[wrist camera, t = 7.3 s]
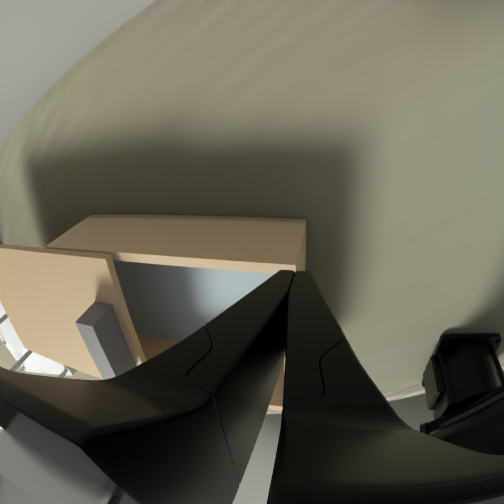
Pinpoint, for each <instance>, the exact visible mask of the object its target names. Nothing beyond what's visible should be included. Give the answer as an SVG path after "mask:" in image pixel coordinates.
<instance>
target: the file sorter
mask: <svg viewBox="0 0 504 504" xmlns="http://www.w3.org/2000/svg"><path fill="white" fill-rule="evenodd" d="M0 338H1V340H2V341H3V343H2V344H1V345H0V349H1V348H2V347H3V346H4V345H6V347H7V348H8V349H9V351H10V352H11V353H12V355H13V356H14V357H15V359H16V360H17V362H16V363H15V365H14V366H13V367H12V368H11V369H10V371H15V370H16V369H17V368H18V367H19V366H20V365H21V366H22V368H21V369H20V370H19V371H18V372H19V373H22V372H23V371H24V370H25V371H27V372H36V373H46V374H57V375H59V376H58V378H63V377H64V376H65V375H74V373H75V372H76V371H77V370H76V369H73V368H71V367H68V366H65V365H63V364H60V363H58V362H55V361H53V360H51V359H48V358H46V357H43V356H41V355H39V354H37V353H34V352H32V351H30V350H28V349H25V347H24V346H23V344H22V342H21V340H20V339H19V337H18V335H17V333H16V331H15V329H14V328H13V326H12V324H11V322H10V320H9V318H8V316H7V314H6V312H5V310H4V308H3V306H2V304H1V302H0ZM0 428H1V429H3V428H2V427H1V426H0Z"/></svg>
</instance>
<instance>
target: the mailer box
mask: <svg viewBox="0 0 504 504" xmlns="http://www.w3.org/2000/svg"><path fill="white" fill-rule="evenodd" d="M46 249H56V250H67V251H79V252H90V253H102V254H111V256H112V259H113V263H114V266H115V270H116V273H117V276H118V280H119V283H120V286H121V289H122V293H123V296H124V299H125V302H126V305H127V308H128V311H129V314H130V317H131V320H132V323H133V326H134V328H135V331H136V334H137V337H138V339H139V342H140V345H141V347H142V350H143V353H144V355H145V358H146V360H149V359H150V358H152V357H154V356H156V355H158V354H160V353H161V352H163V351H165V350H166V349H168V348H170V347H172V346H173V345H175V344H177V343H178V342H180V341H181V340H183V339H184V338H186V337H188V336H189V335H191V334H192V333H194V332H195V331H196V330H198V329H199V328H201V327H202V326H205V324H206V323H208V322H209V321H211V320H212V319H213V318H215V317H216V316H218V315H219V314H220V313H222V312H223V311H225V310H226V309H227V308H229V307H230V306H231V305H233V304H234V303H236V302H237V301H238V300H240V299H241V298H243V297H244V296H245V295H247V294H248V293H249V292H251V291H252V290H253V289H255V288H256V287H258V286H259V285H260V284H262V283H263V282H264V281H266V280H267V279H268V278H270V277H271V276H273V275H274V274H275V273H277V272H278V271H279V270H293V271H295V272H296V271H306V219H295V218H271V217H243V216H208V215H146V214H92V215H90V216H89V217H87V218H86V219H84V220H83V221H81V222H80V223H78V224H77V225H75V226H74V227H72V228H71V229H69V230H68V231H66V232H65V233H64V234H62V235H61V236H59V237H58V238H57V239H55V240H54V241H52V242H51V243H50V244H48V245H47V246H46ZM284 371H285V358H284V361H283V365H282V368H281V371H280V374H279V377H278V380H277V383H276V386H275V389H274V392H273V395H272V398H271V401H270V404H269V407H268V409H271V410H279V411H282V408H283V389H284Z"/></svg>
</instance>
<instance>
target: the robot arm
mask: <svg viewBox="0 0 504 504" xmlns="http://www.w3.org/2000/svg"><path fill="white" fill-rule="evenodd" d="M444 340H446V341H444ZM501 341H502V338H501V336H500V334H446V335H442V336H441V337H440V339H439V341H438V344H437V346H436V349H435V351H434V354H433V355H432V356H431V357H430V359H429V362H428V364H427V367H426V369H425V371H424V374H423V380H422V386H423V387H425V392H426V398H427V406H428V409H429V410H433V412H434V420H433V421H430V422H428V423H427V422H426V423H424V424H421V425H420V432H419V431H417V430H414V429H413V428H411V427H410V426H408V425H407V424H406V423H405V422H404V421H403V420H401V418H400V417H399V416H398V415H397V413H396V412H395V411H394V409H393V408H392V407H391V406H390V404H389V403H388V401H387V400H386V398H385V397H384V396H383V394H382V393H381V392H380V390H379V389H378V388H377V386H376V385H375V383H374V382H373V381H372V379H371V378H370V377H369V375H368V374H367V372H366V371H365V369H364V368H363V366H362V365H361V364H360V362H359V360H358V358H357V357H356V355H355V353H354V351H353V350H352V348H351V346H350V344H349V342H348V340H346V337H345V335H344V333H343V331H342V329H341V327H340V325H339V323H338V321H337V320H336V318H335V316H334V314H333V312H332V310H331V308H330V307H329V305H328V303H327V301H326V299H325V297H324V295H323V294H322V292H321V290H320V288H319V286H318V284H317V283H316V281H315V279H314V277H313V275H312V273H311V272H310V271H296V272H295V271H293V270H279V271H278V272H277V273H275V274H274V275H273V276H271V277H270V278H268V279H267V280H266V281H264V282H263V283H262V284H260V285H259V286H258V287H256V288H255V289H253V290H252V291H251V292H249V293H248V294H247V295H245V296H244V297H243V298H241V299H240V300H238V301H237V302H236V303H234V304H233V305H231V306H230V307H229V308H227V309H226V310H225V311H223V312H222V313H220V314H219V315H218V316H216V317H215V318H213V319H212V320H211V321H209V322H208V323H206V324H205V326H202V327H201V328H199V329H198V330H196V331H195V332H194V333H192V334H191V335H189V336H188V337H186V338H184V339H183V340H181V341H180V342H178V343H177V344H175V345H173V346H172V347H170V348H168V349H166V350H165V351H163V352H161V353H160V354H158V355H156V356H154V357H152V358H150V359H149V360H147V361H145V362H143V363H141V364H139V365H138V366H136V367H134V368H132V369H130V370H128V371H126V372H124V373H122V374H120V375H118V376H116V377H113V378H110V379H105V380H80V379H68V378H58V377H48V376H40V375H32V374H25V373H19V372H15V371H10V370H7V369H4V368H2V367H0V426H1V427H2V428H3V430H2V431H1V433H0V504H232V503H233V500H234V498H235V495H236V493H237V490H238V488H239V484H240V483H241V480H242V478H243V475H244V472H245V470H246V467H247V465H248V462H249V459H250V457H251V454H252V451H253V448H254V446H255V443H256V440H257V437H258V435H259V432H260V429H261V427H262V424H263V421H264V418H265V415H266V412H267V409H268V407H269V404H270V401H271V398H272V395H273V392H274V389H275V386H276V383H277V380H278V377H279V374H280V371H281V368H282V365H283V361H284V358H285V371H284V389H283V408H282V420H281V429H280V435H279V441H278V447H277V452H276V458H275V463H274V469H273V474H272V479H271V484H270V489H269V495H268V500H267V504H504V374H503V371H502V368H501V365H500V362H499V360H498V357H497V355H496V351H497V349H498V347H499V345H500V343H501Z"/></svg>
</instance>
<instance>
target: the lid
mask: <svg viewBox="0 0 504 504" xmlns="http://www.w3.org/2000/svg"><path fill="white" fill-rule="evenodd" d="M0 302H1V304H2V306H3V308H4V310H5V312H6V314H7V316H8V318H9V320H10V322H11V324H12V326H13V328H14V329H15V331H16V333H17V335H18V337H19V339H20V340H21V342H22V344H23V346H24V347H25V349H28V350H30V351H32V352H34V353H37V354H39V355H41V356H43V357H46V358H48V359H51V360H53V361H55V362H58V363H60V364H63V365H65V366H68V367H71V368H73V369H76V370H78V371H81V372H84V373H87V374H89V375H92V376H95V377H98V378H101V379H103V380H105V379H110V378H113V377H116V376H118V375H120V374H122V373H124V372H126V371H128V370H130V369H132V368H134V367H136V366H138V365H139V364H141V363H143V362H145V361H147V360H146V358H145V355H144V353H143V350H142V347H141V345H140V342H139V339H138V337H137V334H136V331H135V328H134V326H133V323H132V320H131V317H130V314H129V311H128V308H127V305H126V302H125V299H124V296H123V293H122V289H121V286H120V283H119V280H118V276H117V273H116V270H115V266H114V263H113V259H112V256H111V254H102V253H90V252H79V251H67V250H56V249H45V248H35V247H24V246H13V245H3V244H0Z"/></svg>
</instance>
